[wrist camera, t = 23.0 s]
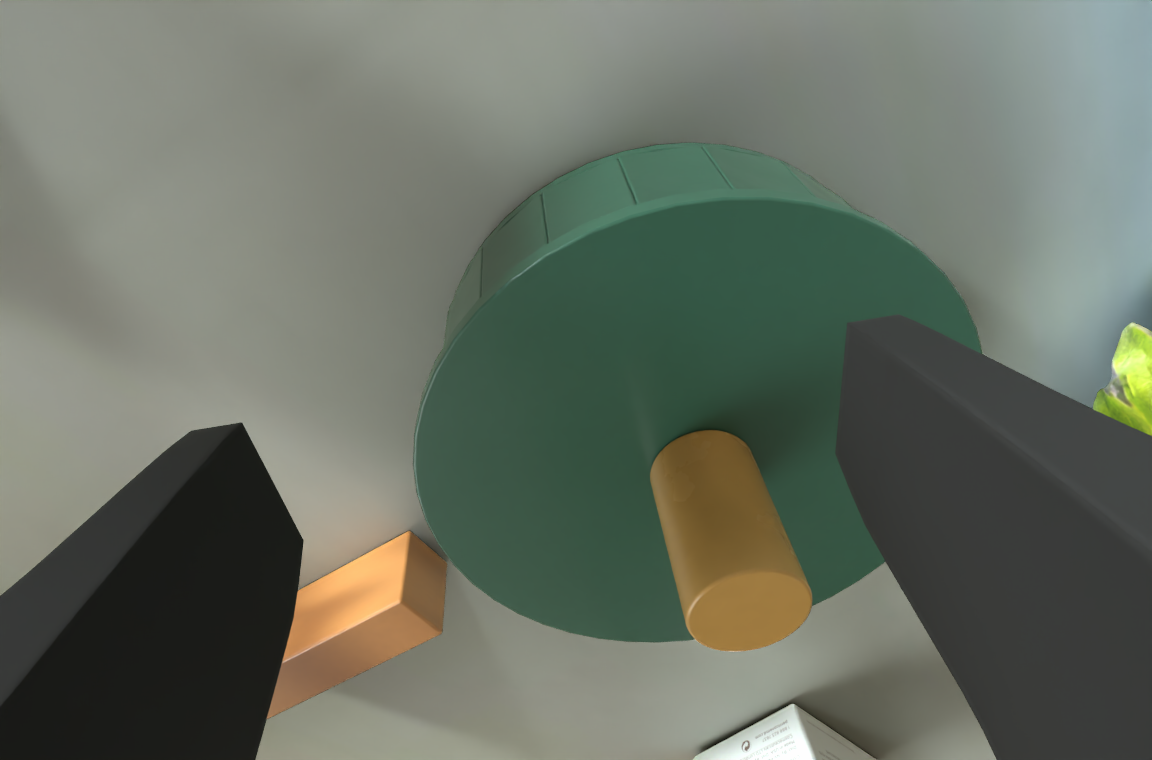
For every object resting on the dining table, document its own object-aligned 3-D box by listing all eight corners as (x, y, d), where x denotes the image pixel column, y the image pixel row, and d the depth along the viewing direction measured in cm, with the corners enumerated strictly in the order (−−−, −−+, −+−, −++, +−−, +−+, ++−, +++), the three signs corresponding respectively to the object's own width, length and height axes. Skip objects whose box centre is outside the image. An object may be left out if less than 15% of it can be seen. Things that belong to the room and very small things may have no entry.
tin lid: (341, 539, 19) (296, 732, 15) (580, 49, 13) (622, 142, 8) (750, 649, 23) (806, 823, 19) (1078, 326, 17) (1268, 477, 13)
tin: (486, 539, 24) (485, 646, 21) (394, 179, 17) (370, 254, 14) (854, 488, 24) (910, 586, 21) (915, 109, 17) (1014, 167, 14)
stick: (249, 665, 27) (226, 740, 24) (206, 638, 26) (177, 714, 23) (448, 562, 24) (443, 634, 22) (409, 528, 23) (400, 600, 21)
